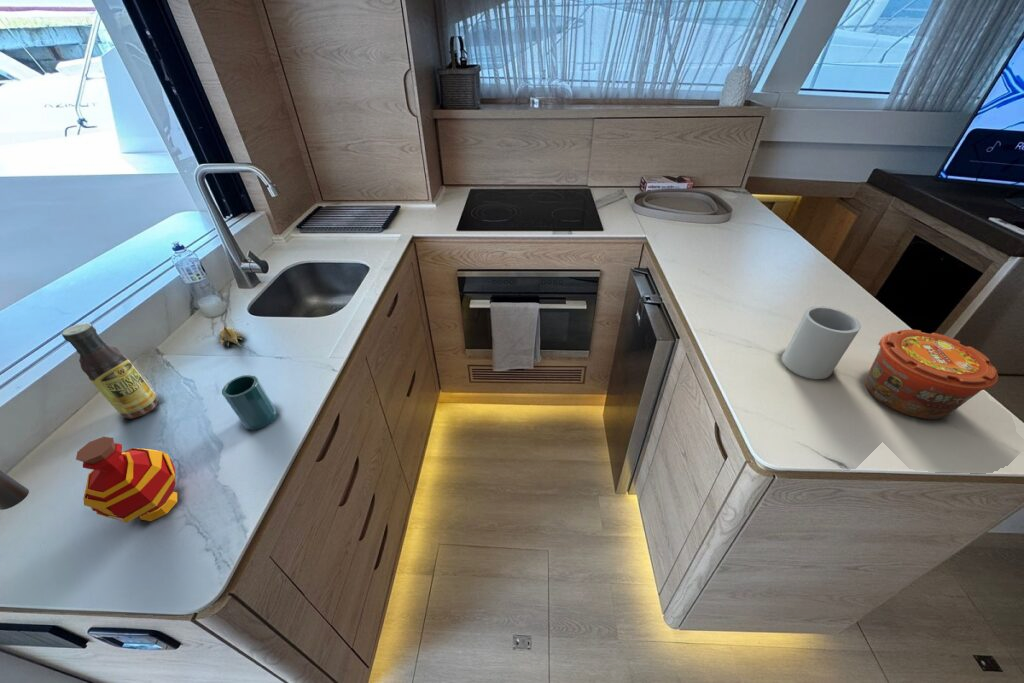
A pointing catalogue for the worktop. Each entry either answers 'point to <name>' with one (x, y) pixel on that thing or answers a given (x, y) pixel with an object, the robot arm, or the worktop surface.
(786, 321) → the worktop surface
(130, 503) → the potion bottle
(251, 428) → the teal cylindrical holder
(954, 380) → the food container
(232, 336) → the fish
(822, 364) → the cup
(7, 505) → the stick grenade
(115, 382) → the sauce bottle
